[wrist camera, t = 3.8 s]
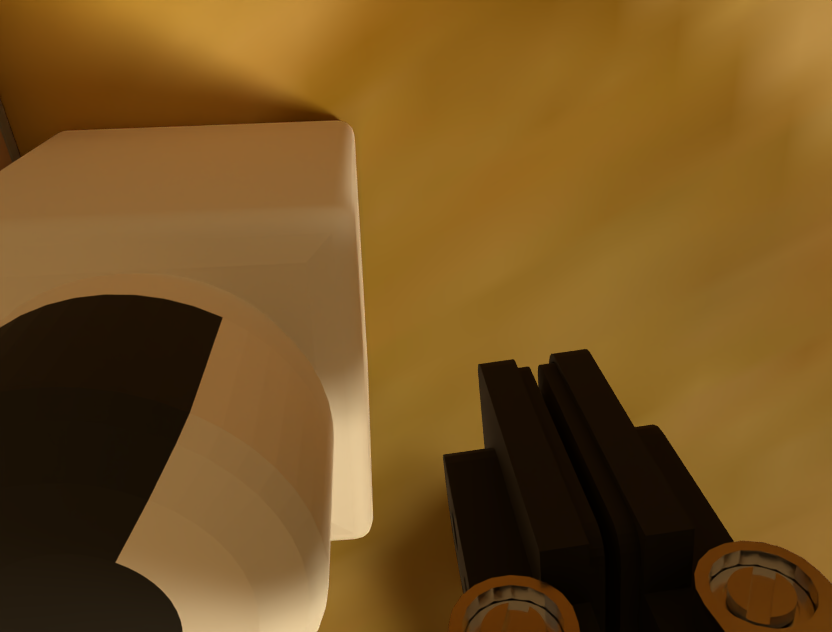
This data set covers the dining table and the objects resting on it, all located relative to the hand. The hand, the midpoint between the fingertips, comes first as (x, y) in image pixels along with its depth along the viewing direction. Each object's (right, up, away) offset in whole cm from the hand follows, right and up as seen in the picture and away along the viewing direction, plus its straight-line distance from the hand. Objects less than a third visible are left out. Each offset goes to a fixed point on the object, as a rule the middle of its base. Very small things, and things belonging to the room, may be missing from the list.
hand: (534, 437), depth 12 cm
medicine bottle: (-7, +4, +8) cm, 11 cm away
